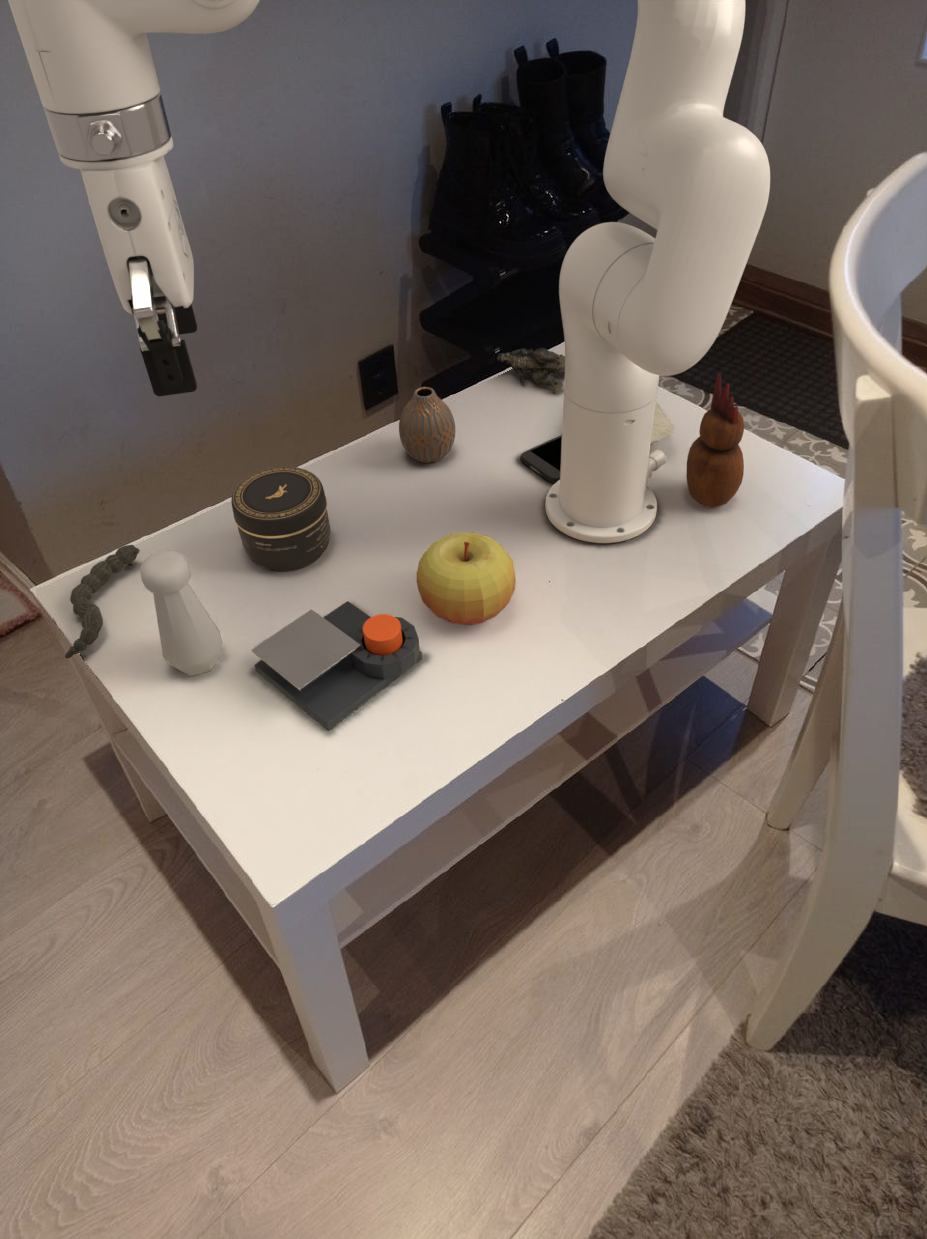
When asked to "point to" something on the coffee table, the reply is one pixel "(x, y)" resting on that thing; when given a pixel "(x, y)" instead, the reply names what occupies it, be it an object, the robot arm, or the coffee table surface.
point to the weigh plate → (306, 649)
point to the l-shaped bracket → (349, 671)
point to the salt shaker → (181, 614)
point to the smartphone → (545, 459)
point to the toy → (91, 585)
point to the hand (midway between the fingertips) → (177, 361)
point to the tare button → (382, 634)
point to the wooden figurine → (717, 452)
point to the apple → (466, 578)
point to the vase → (426, 426)
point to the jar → (282, 517)
